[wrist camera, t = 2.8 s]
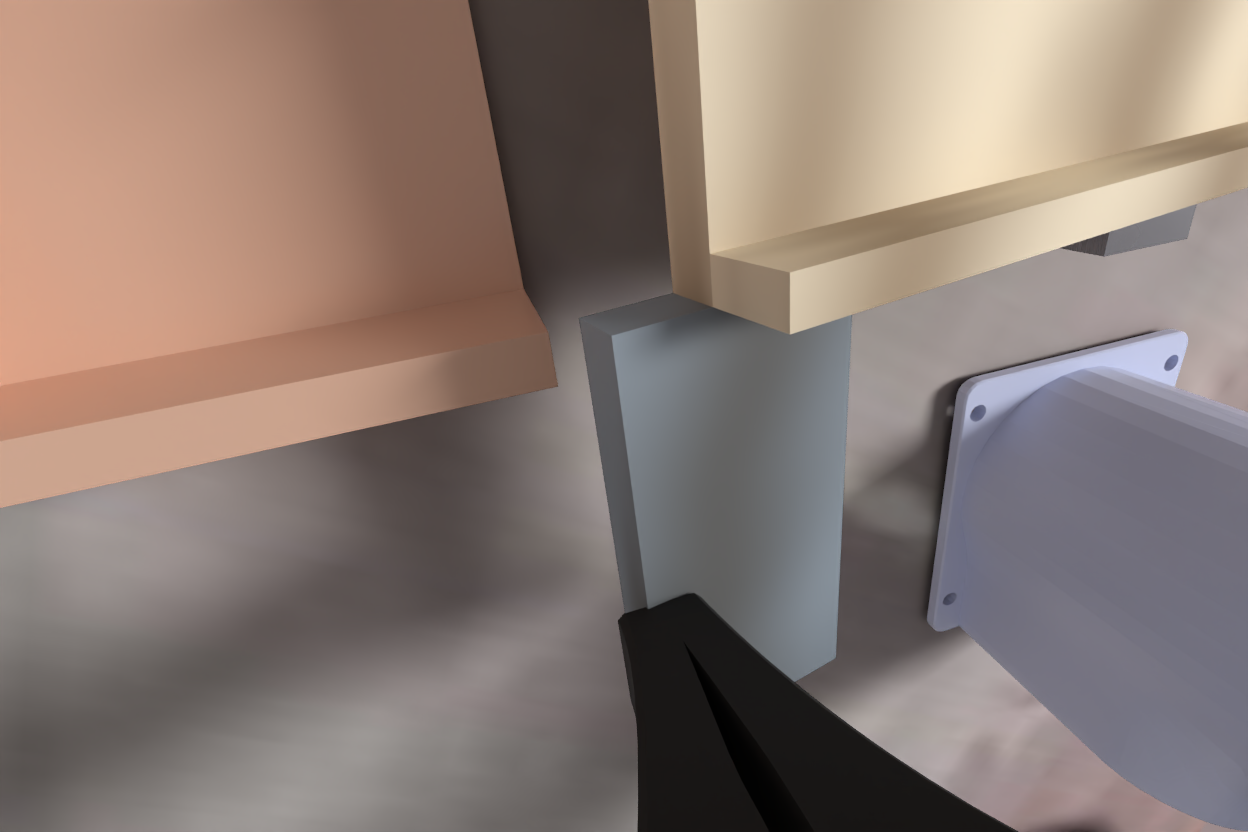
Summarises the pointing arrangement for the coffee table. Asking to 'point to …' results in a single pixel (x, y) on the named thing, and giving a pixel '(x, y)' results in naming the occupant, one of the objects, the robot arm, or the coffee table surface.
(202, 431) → the tray
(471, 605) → the coffee table surface
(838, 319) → the lever
